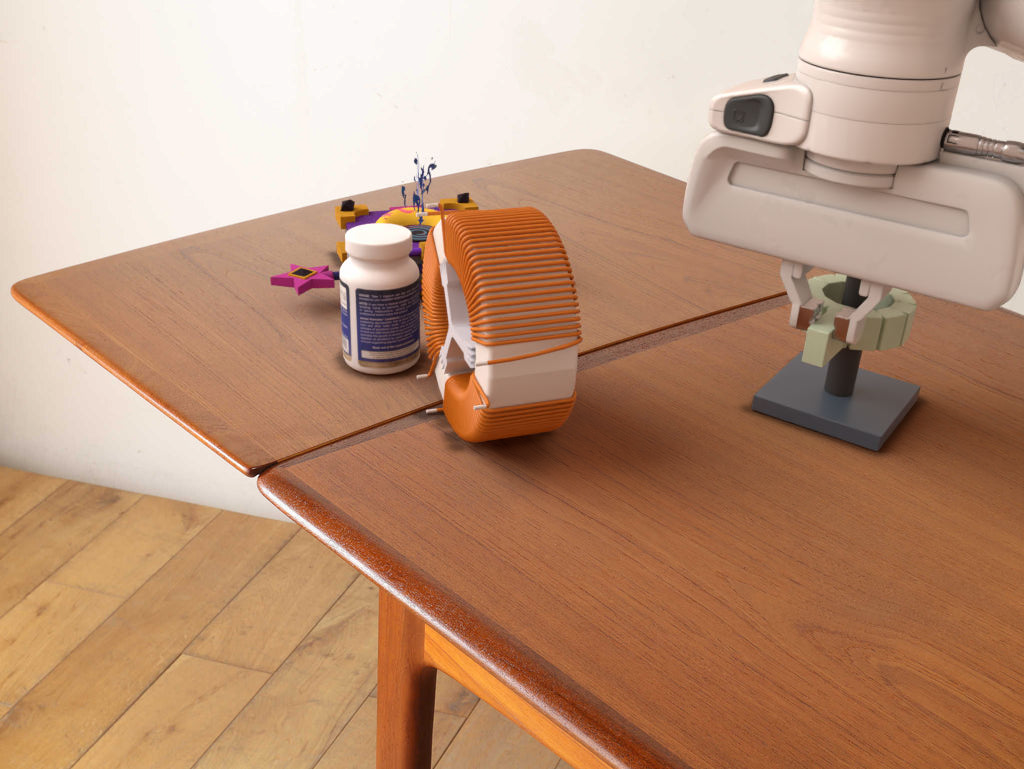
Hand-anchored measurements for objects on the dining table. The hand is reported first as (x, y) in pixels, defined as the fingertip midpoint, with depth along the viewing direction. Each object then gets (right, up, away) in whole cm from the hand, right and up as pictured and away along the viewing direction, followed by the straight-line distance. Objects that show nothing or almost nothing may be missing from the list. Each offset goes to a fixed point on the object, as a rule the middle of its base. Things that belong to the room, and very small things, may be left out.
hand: (824, 333), depth 67 cm
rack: (+3, -5, +8) cm, 10 cm away
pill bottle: (-30, -2, +12) cm, 32 cm away
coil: (-21, -6, +4) cm, 23 cm away
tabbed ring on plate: (+2, 0, +4) cm, 4 cm away
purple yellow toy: (-29, +6, +26) cm, 40 cm away
